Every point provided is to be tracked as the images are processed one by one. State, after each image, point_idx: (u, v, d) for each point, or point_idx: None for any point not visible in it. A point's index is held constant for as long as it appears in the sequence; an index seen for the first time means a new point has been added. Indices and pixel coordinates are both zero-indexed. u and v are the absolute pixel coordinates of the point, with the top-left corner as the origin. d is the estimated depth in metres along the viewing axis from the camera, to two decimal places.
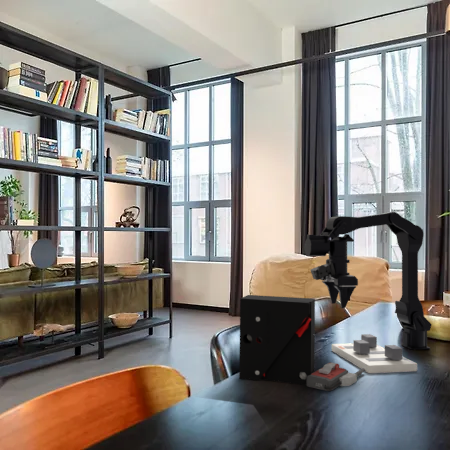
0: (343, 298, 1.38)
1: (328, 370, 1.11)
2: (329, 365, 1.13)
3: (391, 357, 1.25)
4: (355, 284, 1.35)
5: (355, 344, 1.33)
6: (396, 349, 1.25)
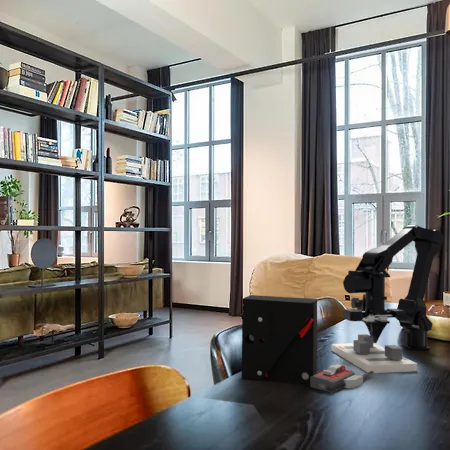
0: (370, 332, 1.41)
1: (333, 371, 1.10)
2: (334, 366, 1.12)
3: (391, 357, 1.25)
4: (349, 319, 1.37)
5: (355, 344, 1.33)
6: (396, 349, 1.25)
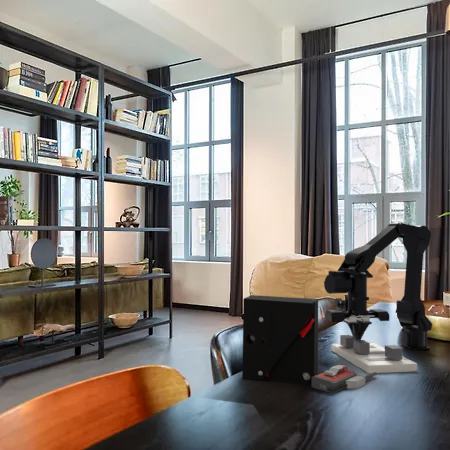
0: (352, 333, 1.40)
1: (334, 372, 1.10)
2: (336, 367, 1.12)
3: (391, 357, 1.25)
4: (331, 320, 1.36)
5: (355, 344, 1.33)
6: (396, 349, 1.25)
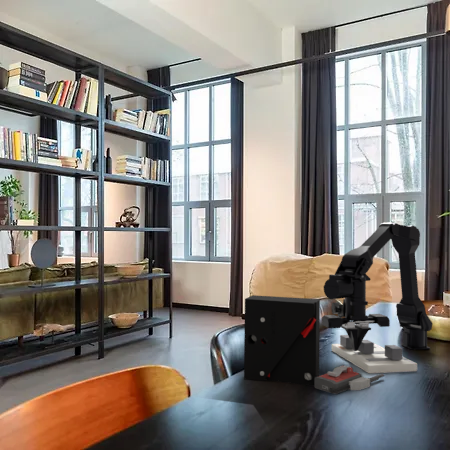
0: (350, 340, 1.33)
1: (338, 373, 1.09)
2: (340, 368, 1.11)
3: (391, 357, 1.25)
4: (327, 326, 1.29)
5: (360, 344, 1.33)
6: (396, 349, 1.25)
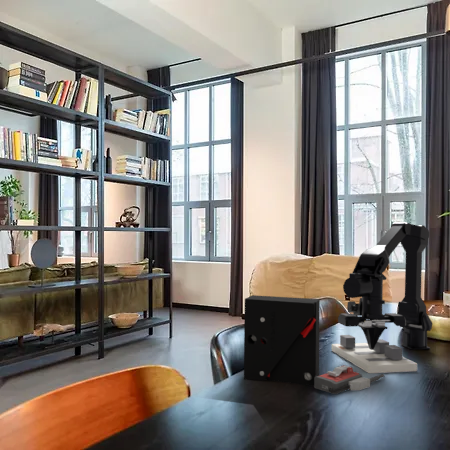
0: (367, 338, 1.33)
1: (338, 373, 1.09)
2: (340, 368, 1.11)
3: (391, 357, 1.25)
4: (344, 324, 1.30)
5: None
6: (396, 349, 1.25)
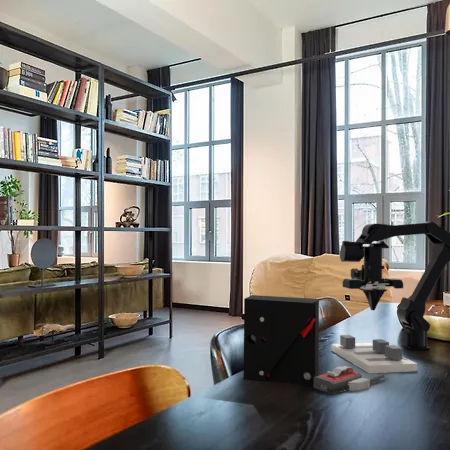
0: (368, 300, 1.49)
1: (337, 373, 1.09)
2: (340, 368, 1.10)
3: (391, 357, 1.25)
4: (348, 287, 1.45)
5: (375, 343, 1.34)
6: (396, 349, 1.25)
